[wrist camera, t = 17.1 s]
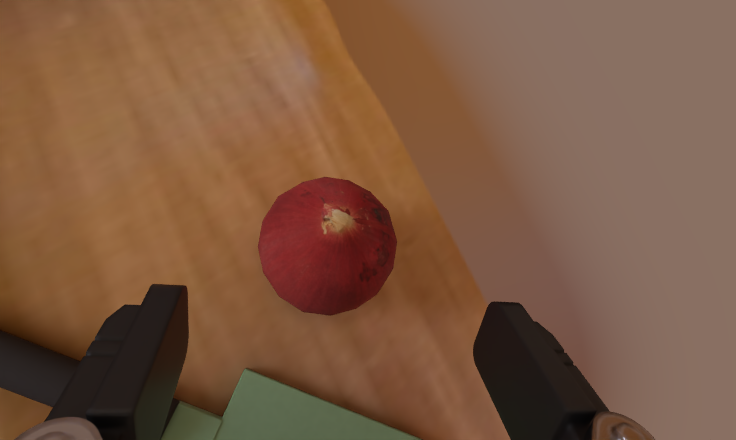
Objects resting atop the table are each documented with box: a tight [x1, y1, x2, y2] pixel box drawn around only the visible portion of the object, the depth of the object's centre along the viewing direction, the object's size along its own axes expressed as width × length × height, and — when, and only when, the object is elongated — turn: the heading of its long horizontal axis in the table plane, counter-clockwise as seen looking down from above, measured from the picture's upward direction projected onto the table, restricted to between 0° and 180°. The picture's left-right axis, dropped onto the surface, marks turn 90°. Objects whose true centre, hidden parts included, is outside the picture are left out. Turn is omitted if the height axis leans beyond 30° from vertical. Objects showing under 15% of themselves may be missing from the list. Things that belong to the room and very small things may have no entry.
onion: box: [258, 177, 397, 315], centre depth 18 cm, size 6×6×8 cm
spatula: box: [0, 330, 422, 440], centre depth 17 cm, size 22×6×2 cm, turn 69°
